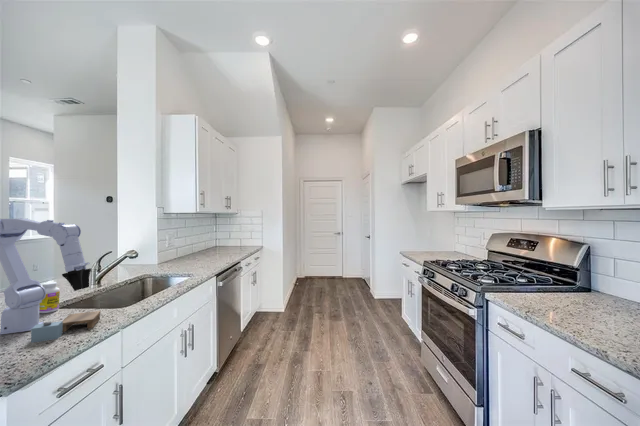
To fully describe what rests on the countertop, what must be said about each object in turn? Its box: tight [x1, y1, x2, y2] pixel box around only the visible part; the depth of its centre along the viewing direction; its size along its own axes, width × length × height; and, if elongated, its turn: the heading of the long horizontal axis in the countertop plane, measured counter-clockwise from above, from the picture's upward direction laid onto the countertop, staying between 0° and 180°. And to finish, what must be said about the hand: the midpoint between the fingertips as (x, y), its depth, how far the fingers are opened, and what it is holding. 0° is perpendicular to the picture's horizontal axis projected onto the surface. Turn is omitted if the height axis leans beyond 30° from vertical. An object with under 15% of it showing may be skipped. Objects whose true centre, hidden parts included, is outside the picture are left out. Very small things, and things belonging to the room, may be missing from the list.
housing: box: [30, 320, 63, 344], centre depth 96 cm, size 7×4×6 cm, turn 117°
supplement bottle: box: [39, 281, 61, 314], centre depth 121 cm, size 7×7×13 cm
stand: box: [62, 310, 101, 333], centre depth 107 cm, size 10×10×4 cm
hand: (82, 288), depth 101 cm, fingers open, 7 cm apart
